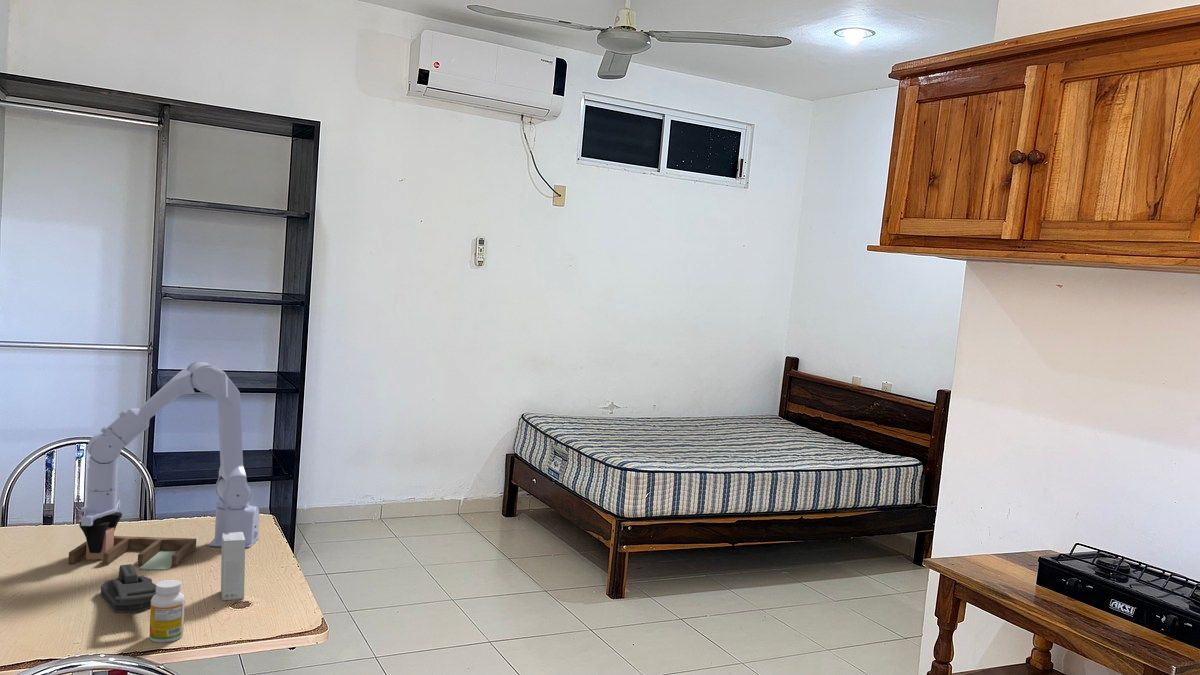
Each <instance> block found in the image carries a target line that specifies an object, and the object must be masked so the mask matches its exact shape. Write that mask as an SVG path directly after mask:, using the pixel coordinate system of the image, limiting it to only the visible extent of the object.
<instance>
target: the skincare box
mask: <svg viewBox="0 0 1200 675" xmlns="http://www.w3.org/2000/svg"><path fill="white" fill-rule="evenodd" d="M220 550H221V553H220V555H221V563H220V564H221V565H220V566H221V567H220V592H221V593H220V595H221V600H222V601H235V600H236V601H237V600H244V598H245V577H246V576H245V573H246V569H245V568H246V566H245V565H246V547H245V537H244V534H243V532H233V533H223V534H222V546H221V548H220Z"/></svg>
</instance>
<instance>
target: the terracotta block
mask: <svg viewBox="0 0 1200 675" xmlns="http://www.w3.org/2000/svg"><path fill="white" fill-rule="evenodd" d="M114 536H115V531H114V528H111V527H107V530H106V532H105V536H104V541H103V547H102V550H101V552H100V553H90V551H89V548H88V544H87V545H86V556H85V560H97V559H101V560H102V561H103V554H104V553H105V552H106V551H108V550H109V549H111V548H112V547H114Z"/></svg>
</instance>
